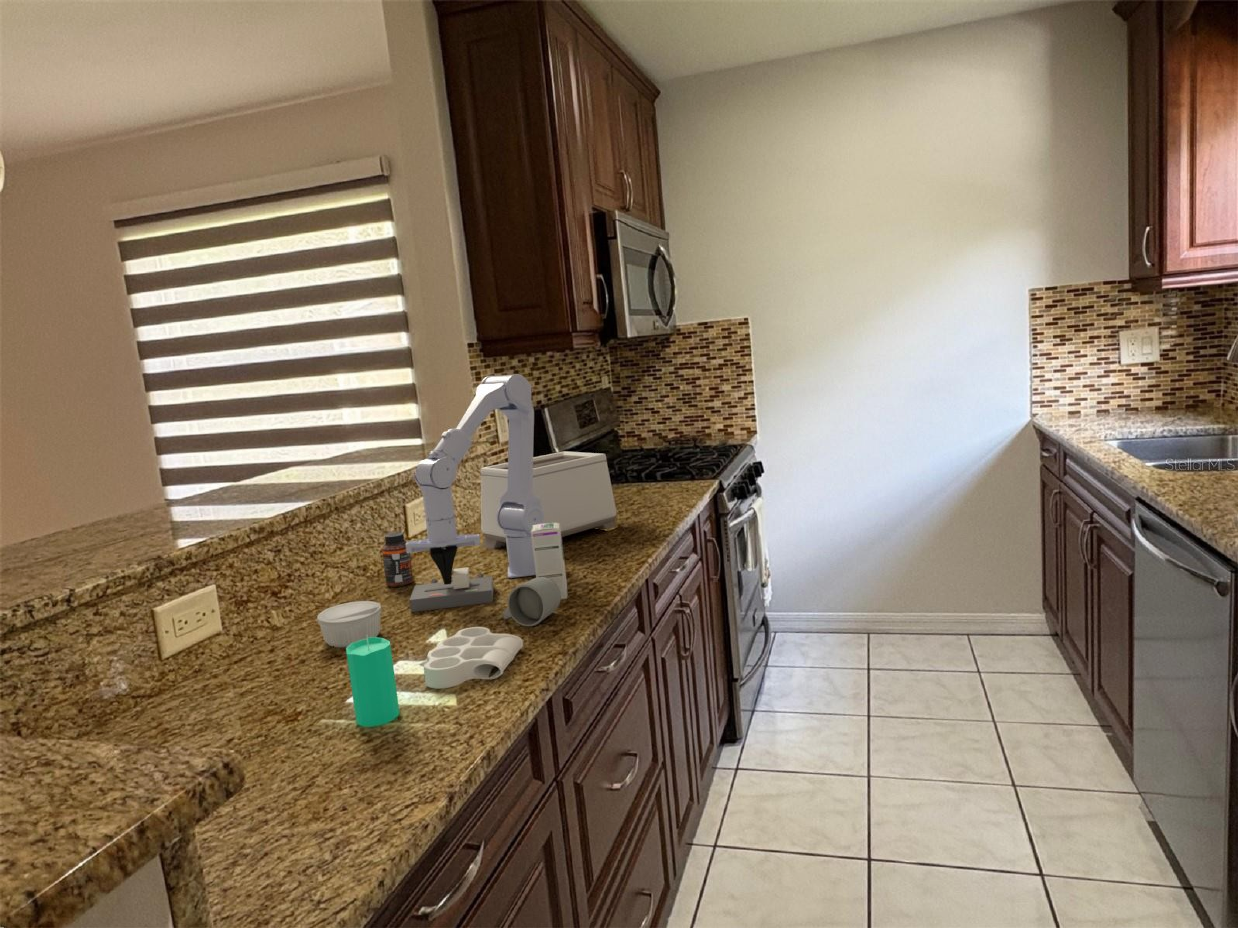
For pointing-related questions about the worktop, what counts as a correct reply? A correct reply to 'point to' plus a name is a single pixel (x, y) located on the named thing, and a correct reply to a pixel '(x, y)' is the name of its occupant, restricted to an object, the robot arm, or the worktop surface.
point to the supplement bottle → (396, 561)
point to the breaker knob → (461, 578)
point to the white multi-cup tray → (469, 657)
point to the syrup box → (549, 554)
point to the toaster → (555, 494)
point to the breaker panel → (451, 594)
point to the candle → (372, 681)
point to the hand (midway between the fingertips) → (448, 582)
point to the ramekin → (350, 622)
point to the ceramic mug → (533, 601)
